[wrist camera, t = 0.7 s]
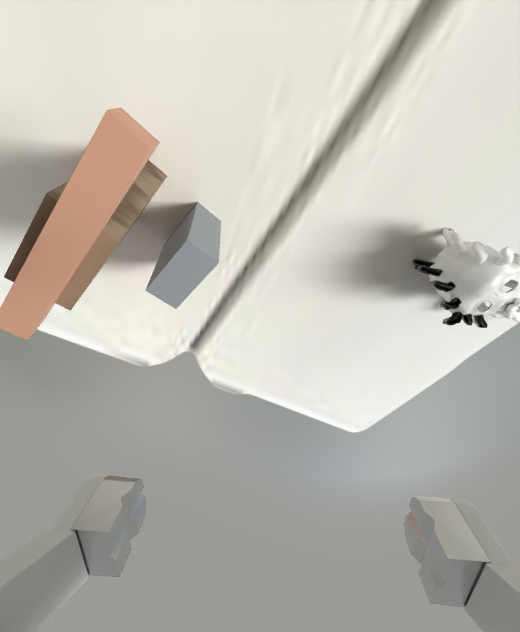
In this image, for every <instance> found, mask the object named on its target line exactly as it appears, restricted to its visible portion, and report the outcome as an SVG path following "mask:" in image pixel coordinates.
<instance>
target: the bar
mask: <svg viewBox="0 0 520 632" xmlns="http://www.w3.org/2000/svg"><path fill="white" fill-rule="evenodd" d="M159 143H160V142H159V141H158V140H157V139H155V138H154V137H153V136H152V135H151V134H150V133H149V132H148V131H147V130H145V129H144V128H143V127H142V126H141V125H140V124H139V123H138V122H136V121H135V120H134V119H133V118H132V117H131V116H130V115H129V114H128V113H126V112H125V111H124V110H123V109H122V108H117V109H109V110H107V111H106V113H105V115H104V116H103V118H102V120H101V122H100V124H99V126H98V128H97V129H96V131H95V133H94V135H93V137H92V139H91V141H90V142H89V144H88V146H87V148H86V150H85V152H84V154H83V155H82V157H81V159H80V161H79V163H78V165H77V167H76V168H75V170H74V172H73V174H72V176H71V178H70V180H69V181H68V183H67V185H66V187H65V189H64V191H63V193H62V194H61V196H60V198H59V200H58V202H57V204H56V206H55V207H54V209H53V211H52V213H51V215H50V217H49V219H48V220H47V222H46V224H45V226H44V228H43V230H42V232H41V233H40V235H39V237H38V239H37V241H36V243H35V245H34V246H33V248H32V250H31V252H30V254H29V256H28V257H27V259H26V261H25V263H24V265H23V267H22V269H21V270H20V272H19V274H18V276H17V278H16V280H15V282H14V283H13V285H12V287H11V289H10V291H9V293H8V295H7V296H6V298H5V300H4V302H3V304H2V306H1V308H0V329H3V330H5V331H7V332H9V333H12V334H14V335H16V336H19V337H21V338H24V339H26V340H28V339H29V338H30V337H31V335H32V334H33V333H34V332H35V330H36V329H37V328H38V327H39V326H40V324H41V323H42V322H43V321H44V319H45V317H46V316H47V314H48V313H49V311H50V310H51V308H52V307H53V305H54V304H55V302H56V301H57V299H58V298H59V296H60V294H61V293H62V291H63V290H64V288H65V287H66V285H67V284H68V282H69V281H70V279H71V278H72V276H73V275H74V273H75V271H76V270H77V268H78V267H79V265H80V264H81V262H82V261H83V259H84V258H85V256H86V255H87V253H88V251H89V250H90V248H91V247H92V245H93V244H94V242H95V241H96V239H97V238H98V236H99V235H100V233H101V232H102V230H103V228H104V227H105V225H106V224H107V222H108V221H109V219H110V218H111V216H112V215H113V213H114V212H115V210H116V209H117V207H118V205H119V204H120V202H121V201H122V199H123V198H124V196H125V195H126V193H127V192H128V190H129V189H130V187H131V186H132V184H133V182H134V181H135V179H136V178H137V176H138V175H139V173H140V172H141V170H142V169H143V167H144V166H145V164H146V162H147V161H148V159H149V158H150V156H151V155H152V153H153V152H154V150H155V149H156V147H157V146H158V144H159Z"/></svg>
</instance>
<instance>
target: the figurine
mask: <svg viewBox="0 0 520 632" xmlns="http://www.w3.org/2000/svg"><path fill="white" fill-rule="evenodd" d="M443 236H444V238H445V240H446V242H447V244H448V246H447V247H445V248H444V249H443V250H442V251H441V252H440V253H439V254H438V255H437V256H436V257H435V258H434V259H433V260H432V262H428V261H424V260H420V259H414V260H413V262H412V263H413V264H415V265H416V267H415V269H417V270H419V271H420V272H422V273H426V274H429V278H430V280H431V285H432V287H434V288H435V289H436V291H437V293H438V294H439V295H441V296H442V297H443V298H444V299H445V300H446V301H443V302H442V303H441V307H442V308H444V309H445V310H449V311H450V312H451V313H452V317H449V318H446V319H444V321H443V324H447V325H454V324H456V323H460V322H461V320H462V319H463V321H464V322H465V323H466V324H467V325H472V323H475V324H476V325H477V326H478V327H481V328H487V323H486V322H485V321H487V320H491V319H493V318H494V317H496V318H503V317H505V318H508V319H511V318H512V319H513V320H515V321H517V322H518V321H519V320H520V313H519V312H520V255H518V254H513V253H514V251H513V250H511V248H509V247H506V248H503V249H502V250H501V253H500V252H498V251H496V250H495V249H493V248H491V247H490V246H486V245H483V244H481V243H480V242H469V241H462V239H461V237H460V235H459V234H458V233H457V231H456V230H455V229H453V230H451V231H449V230H448V229H447V228H445V229H443ZM504 285H505V286H508V287H510V288H513V289H511V290H510V291H508V292H505V291H503V290H502V287H503V286H504ZM485 301H489V302H490V303H491V305H490V307H489V308H488V307H487V306H486V305H485V303H484V302H485ZM507 301H508V302H507ZM503 304H504V305H503Z"/></svg>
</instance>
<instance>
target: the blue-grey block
mask: <svg viewBox="0 0 520 632" xmlns="http://www.w3.org/2000/svg"><path fill="white" fill-rule="evenodd" d="M220 229H221V221H220V220H218V219H217V218H216V217H215V216H214V215H213V214H211V213H210V212H209V211H208V210H207V209H205V208H204V207H203V206H202V205H201V204H200V203H197V204H196V205H195V206H194V208H193V209H192V210H191V211H190V213H189V214H188V215H187V216H186V218H185V219H184V220H183V222H182V223H181V224H180V225H179V227H178V228H177V229H176V230H175V232H174V233H173V234H172V235H171V237H170V238H169V239H168V241H167V242H166V243H165V245H164V247H163V250H162V252H161V255H160V257H159V259H158V262H157V264H156V266H155V269H154V271H153V274H152V276H151V278H150V281H149V283H148V286H147V288H146V291H147V292H149V293H151V294H152V295H154V296H156V297H157V298H159V299H161V300H162V301H164V302H165V303H167V304H169V305H170V306H172V307H174V308H175V309H176V308H177V307H178V306H179V305H180V304H181V303H182V302H183V301H184V300H185V299H186V298H187V297H188V296H189V294H190V293H191V292H192V291H193V290H194V289H195V288H196V287H197V286H198V285H199V284H200V283H201V282H202V280H203V279H204V278H205V277H206V276H207V275H208V274H209V273H210V272H211V271H212V270H213V269H214V267H215V266H216V265H217V264H218V263H219V248H220Z"/></svg>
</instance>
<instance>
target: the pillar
mask: <svg viewBox="0 0 520 632" xmlns="http://www.w3.org/2000/svg"><path fill="white" fill-rule="evenodd" d="M166 177H167V176H166V175H165V174H164V173H163V172H162V171H161V170H159V169H158V168H157V167H156V166H155V165H154V164H152V163H151V162H150V161H149V160H148V161H147V162H146V164H145V166H144V167H143V169H142V170H141V172H140V173H139V175H138V176H137V178H136V179H135V181H134V182H133V184H132V186H131V187H130V189H129V190H128V192H127V193H126V195H125V196H124V198H123V199H122V201H121V202H120V204H119V205H118V207H117V209H116V210H115V212H114V213H113V215H112V216H111V218H110V219H109V221H108V222H107V224H106V225H105V227H104V228H103V230H102V232H101V233H100V235H99V236H98V238H97V239H96V241H95V242H94V244H93V245H92V247H91V248H90V250H89V251H88V253H87V255H86V256H85V258H84V259H83V261H82V262H81V264H80V265H79V267H78V268H77V270H76V271H75V273H74V275H73V276H72V278H71V279H70V281H69V282H68V284H67V285H66V287H65V288H64V290H63V291H62V293H61V294H60V296H59V298H58V299H57V301H56V302H55V303H57V304H59V305H60V306H62V307H64V308H66V309H68V310H70V311H71V309H72V308H73V306H74V305H75V304H76V302H77V301H78V300H79V298H80V297H81V295H82V294H83V293H84V291H85V290H86V289H87V287H88V286H89V284H90V283H91V282H92V280H93V279H94V278H95V276H96V275H97V273H98V272H99V271H100V269H101V268H102V267H103V265H104V264H105V262H106V261H107V260H108V258H109V257H110V256H111V254H112V253H113V251H114V250H115V249H116V247H117V246H118V245H119V243H120V242H121V240H122V239H123V238H124V236H125V235H126V234H127V232H128V231H129V229H130V228H131V227H132V225H133V224H134V223H135V221H136V220H137V218H138V217H139V215H140V214H141V213H142V211H143V210H144V208H145V207H146V205H147V204H148V203H149V201H150V200H151V198H152V197H153V196H154V194H155V193H156V191H157V190H158V188H159V187H160V186H161V184H162V183H163V181H164V180H165V178H166ZM67 183H68V182H67ZM67 183H65V184H63V185H61V186H59V187H57V188H56V189H54V190H52V191H50V192H48V193H47V194H46V196H45V198H44V200H43V202H42V204H41V205H40V207H39V209H38V211H37V213H36V215H35V217H34V219H33V221H32V223H31V225H30V227H29V229H28V231H27V233H26V235H25V237H24V239H23V241H22V243H21V245H20V246H19V248H18V250H17V252H16V254H15V256H14V258H13V260H12V262H11V264H10V266H9V268H8V270H7V272H6V274H5V276H4V277H5V278H7V279H9V280H11V281H13V282H15V280H16V278H17V276H18V274H19V272H20V270H21V269H22V267H23V265H24V263H25V261H26V259H27V257H28V256H29V254H30V252H31V250H32V248H33V246H34V245H35V243H36V241H37V239H38V237H39V235H40V233H41V232H42V230H43V228H44V226H45V224H46V222H47V220H48V219H49V217H50V215H51V213H52V211H53V209H54V207H55V206H56V204H57V202H58V200H59V198H60V196H61V194H62V193H63V191H64V189H65V187H66V185H67Z"/></svg>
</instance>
